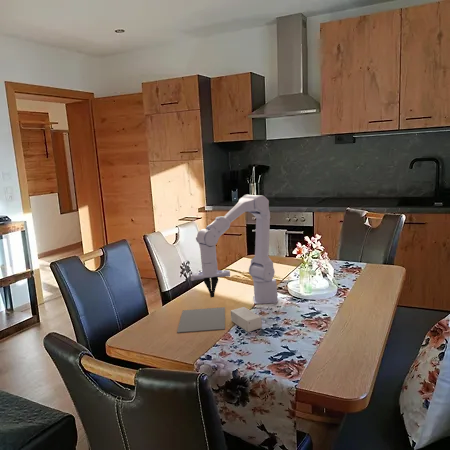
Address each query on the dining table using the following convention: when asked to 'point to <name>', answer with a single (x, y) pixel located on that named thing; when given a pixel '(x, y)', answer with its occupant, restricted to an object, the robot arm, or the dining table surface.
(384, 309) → the dining table surface
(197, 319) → the mat
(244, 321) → the skincare box
